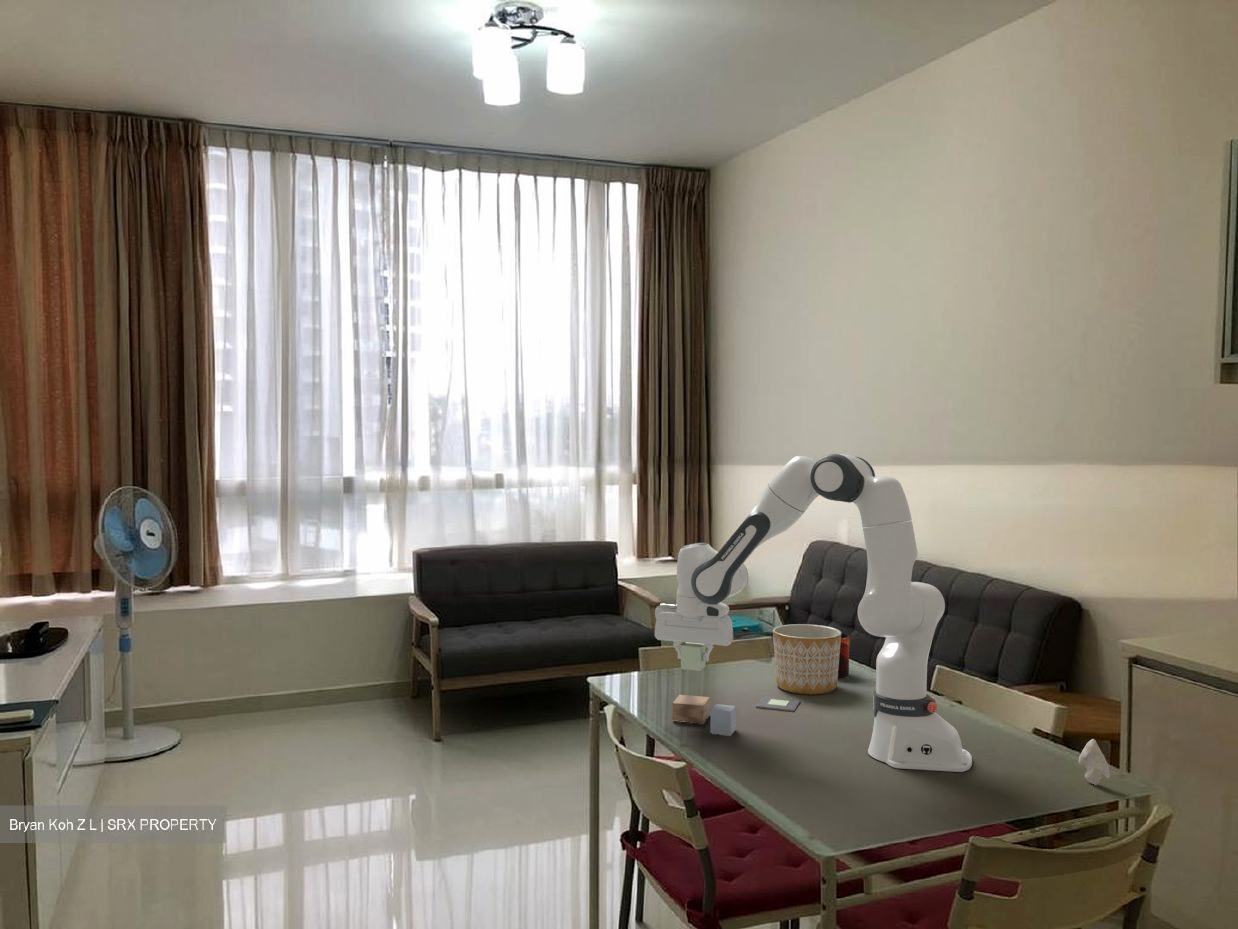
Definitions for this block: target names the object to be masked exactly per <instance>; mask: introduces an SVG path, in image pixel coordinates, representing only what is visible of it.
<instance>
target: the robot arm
mask: <svg viewBox="0 0 1238 929" xmlns="http://www.w3.org/2000/svg"><path fill="white" fill-rule="evenodd" d="M820 496H821V497H822V498H824V499H827V500H829V501H834V502H842V503H849V504H851V503H853V504H854V505H855V506H856V507H857V509H858V512H859V514H860V515H859V516H860V519H861V526H862V531H863V532H862V533H863V538H864V544H865V550H866V556H867V557H866V558H867V571H866V572H867V573H866V574H867V575H866V583H865V590H864V592H863V593H864V594H863V596H862V598H861V600H860V601H859V604H858V607H857V618H858V621H859V624H860V626H861V627H862V628H863V630H864V631H865V632H867V633H868V634H869V635H871V636H874V637H880V638H881V637H883V638H885V641H884V643H883V646H882V648H880V651H878V652H879V653H878V654H877V656H876V659H875V660H876V662H875V666H876V667H875V668H876V669H875V690H874V693H873V696H872V702H873V704H872V709H873V710H872V713H873V717H874V721H873V728H872V735H871V738H870V742H869V746H868V749H867V753H868V755H869V756H870V757H871V758H874V759H875V760H878V761H880V762H883V763H886V764H887V765H888V766H890V767H891V768H895V769H907V770H921V771H922V770H923V771H936V772H937V771H941V772H956V773H964V772H966V771H969V770H970V769H971V767H972V766H973V757H972V755H971V753H970V752H969V751H968V750H966V749H964V748H963V747H962V741H961V740H962V739H961V737H960V735H959V732H958V730H957V729H956V728H955V727H954V726H953V725H951V723H949V722H948V721H946V720H945V719H944V718H942V717H941V716H940V715H939V714H938V713H936V712H937V710H938V705H937V702H936V700H935V698H936V697H935V696H930V694H927V680H928V678H927V677H928V675H927V674H928V660H929V654H930V651H931V646H932V642H933V638H934V635H935V631H936V629H937V626H938V623H939V621H940V620H941V618H942V617H943V615H944V613H945V608H946V602H945V598H944V596H943V594H942V593H941V591H940V590H939V589H938V588H937V587H936V586H935V585H932V584H929V583H925V582H920V581H912V576H913V575H912V573H913V568H914V564H915V562H916V560H917V559H918V548H917V542H916V537H915V529H914V526H913V521H912V515H911V514H912V513H911V510H910V506H909V503H908V500H907V496H906V494H905V491H904V489H903V486H902V484H901V482H899V480H898V479H896V478H894V477H891V476H886V475H880V476H876V473H875V469H874V468H873V466H872V465H871V464H870V463H869V462H868V461H867V460H865V459H863V458H861V457H858V456H854V455H852V454H847V453H830V454H827V455H824V456H822V457H820V458H819V459H817V461H816V460H814V458H812V457H809V456H805V455H796V456H793V457H792V458H791V459H790V460H789V461H787V462H786V464H784V465H783V466H782V467H781V468H780V469H779V471H778V472H777V473H775V475H774V477H772V479H771V480H770V481H769V483H768V484H766V487H765V488H764V489H763V491H762V492H761V493H760V495H759V497H758V498H757V500H756V501H755V503H754V504H753V506H752V507H751V509H750V511H749V512H748V514H747V515H746V517H745V518H744V519H743V521H742V522H741V524H740V525H739V527H738V528H737V529H736V530H735V531H734V532H733V533H732V535H731V536H730V537H729V538H728V540H727V541H726V542H725V543H724V545H723V546H722V547H721V549H720V550H719V551H717V550H716V549H714V548H713V547H712V546H711V545H710V544H709V543H706V542H695V543H692V544H691V543H690V544H686V545H683V546H682V547H681V548H680V550H679V552H678V555H677V556H678V557H677V565H676V579H677V580H676V581H677V583H678V584H677V590H676V604H672V603H671V604H668V603H667V604H666V603H660V605H657V606H656V607H655V609H654V610H655V611H654V617H655V619H656V620H655V626H654V637H655V639H657V640H658V641H668V642H672V643H673V648H674V649H675V651H676V653H677V659H678V660H681V644H682V643H686V642H689V643H700V644H705V649H707V650H706V651H705V653H703V654H702V661H705V662H709V660H710V653H711V652H712V650H713V649H714V646H724V647H727V646H730V645H731V644H732V642H733V641H734V629H733V621H732V618H731V617H730V615H728V614H729V612H730V607H729V605H728V604H727V603H723V601H724V600H726V599H728V598H731V597H733V596H735V595H737V594H739V593H741V592H742V591H743V590H744V589H746V587H747V585H748V582H749V573H748V569H747V567H746V565H745V562H746V561H747V560H748V559H749V557H750V556H751V555H752V554H753V552H754V551H755V550H756V549H757V548H758V547H759V546H760V545H762V544H763V543H765V542H767V541H769V540H770V539H772V538H774V537H776V536H777V535H780V534H782V533H784V532H786V531H787V530H789V529H790V528H791V527H792V526H794V524H795V523H796V522H797V521H798V520H799V519H800V518H802V516H803V515H804V513H805V512H806V511H807V510H808V509H809V506H810V505H811V504H812V503H813V502H814V501H815V499H816V498H818V497H820Z"/></svg>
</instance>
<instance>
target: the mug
mask: <svg viewBox="0 0 1238 929" xmlns="http://www.w3.org/2000/svg"><path fill="white" fill-rule="evenodd" d="M848 676H849V677H850V635H849V634H847V633H846V634H845V633H843V632H841V644H840V655H839V667H838V679H837V680H841V679H842V678H843V679H847V678H849V677H848ZM846 677H847V678H846Z"/></svg>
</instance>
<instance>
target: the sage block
mask: <svg viewBox="0 0 1238 929" xmlns="http://www.w3.org/2000/svg"><path fill="white" fill-rule="evenodd" d="M680 648H681V659H680V669H681V670H686V671H698V672H700V671H702V670H703V669H704V668H705V667H706V661H702V654H703V653H706V644H700V643H689V642H683V644H682V645H680Z"/></svg>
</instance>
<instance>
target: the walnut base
mask: <svg viewBox="0 0 1238 929" xmlns="http://www.w3.org/2000/svg"><path fill="white" fill-rule="evenodd" d="M710 699H711V698H710V696H702V695H701V696H699V695H687V694H678V695H677V697H676V698H675V699H674V700H673V702H672V714H671V716H672V720H678V721H685V722H693V723H698V724H697V725H703V724H704V725H705V723H706V721H707V720H708V718H710V701H711V700H710ZM706 719H707V720H706ZM672 720H671V721H672Z"/></svg>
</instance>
